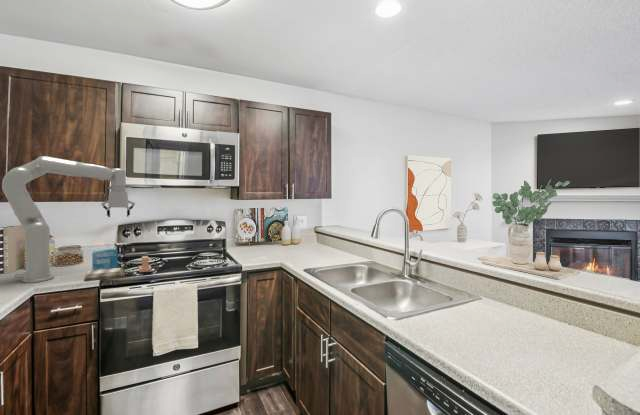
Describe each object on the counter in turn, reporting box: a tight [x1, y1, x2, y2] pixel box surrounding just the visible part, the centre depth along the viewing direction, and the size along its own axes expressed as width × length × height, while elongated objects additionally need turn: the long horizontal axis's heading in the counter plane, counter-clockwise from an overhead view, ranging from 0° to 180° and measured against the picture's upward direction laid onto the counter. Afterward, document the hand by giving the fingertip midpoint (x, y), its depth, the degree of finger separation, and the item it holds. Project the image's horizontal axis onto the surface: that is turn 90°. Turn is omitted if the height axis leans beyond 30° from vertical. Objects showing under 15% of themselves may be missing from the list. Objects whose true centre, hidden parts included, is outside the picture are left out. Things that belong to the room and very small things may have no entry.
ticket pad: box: [83, 267, 126, 282], centre depth 172 cm, size 18×10×4 cm, turn 122°
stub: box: [138, 255, 152, 273], centre depth 183 cm, size 6×9×8 cm, turn 32°
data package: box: [91, 248, 119, 270], centre depth 188 cm, size 12×4×12 cm, turn 143°
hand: (118, 216), depth 190 cm, fingers open, 9 cm apart
